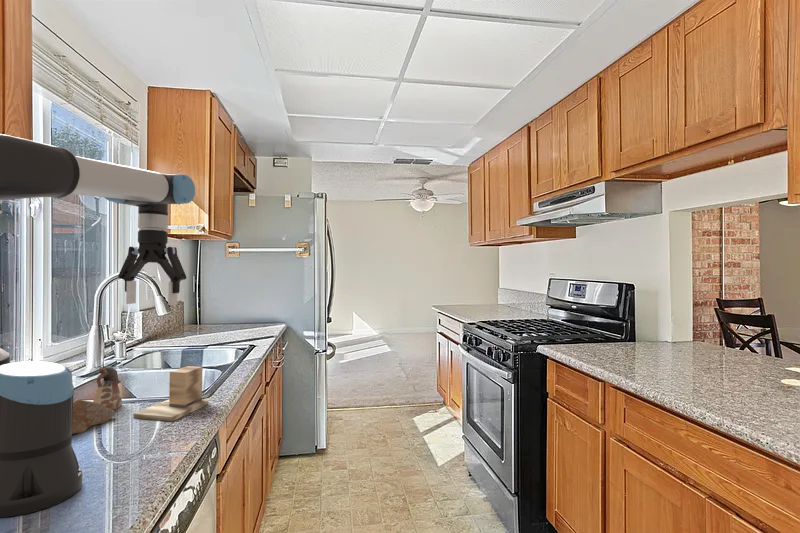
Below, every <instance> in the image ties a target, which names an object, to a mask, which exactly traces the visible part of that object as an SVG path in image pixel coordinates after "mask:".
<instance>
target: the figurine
mask: <svg viewBox="0 0 800 533" xmlns="http://www.w3.org/2000/svg"><path fill="white" fill-rule="evenodd" d="M98 371H99V373H100V374H99V375H98V376H97V378H96V384H97V385H96V388H95V392H94V395H93V401H92V402H96V403H100V404H103V405H104V406H105V407H106V408H108V409H111V410H112V411H114V410H117V409H118V408H120V407H121V406H122V405H123V404H122V401H123V399H122V398H121V397H122V396H121V391H120V386H119V384H120V383H121V382H122V381H121V380H120V379H119V375H118V370H117V369H115V368H114V367H113V366H105V367H104V368H103V367H99V368H98ZM101 379H103V380H102V381H101Z"/></svg>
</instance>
